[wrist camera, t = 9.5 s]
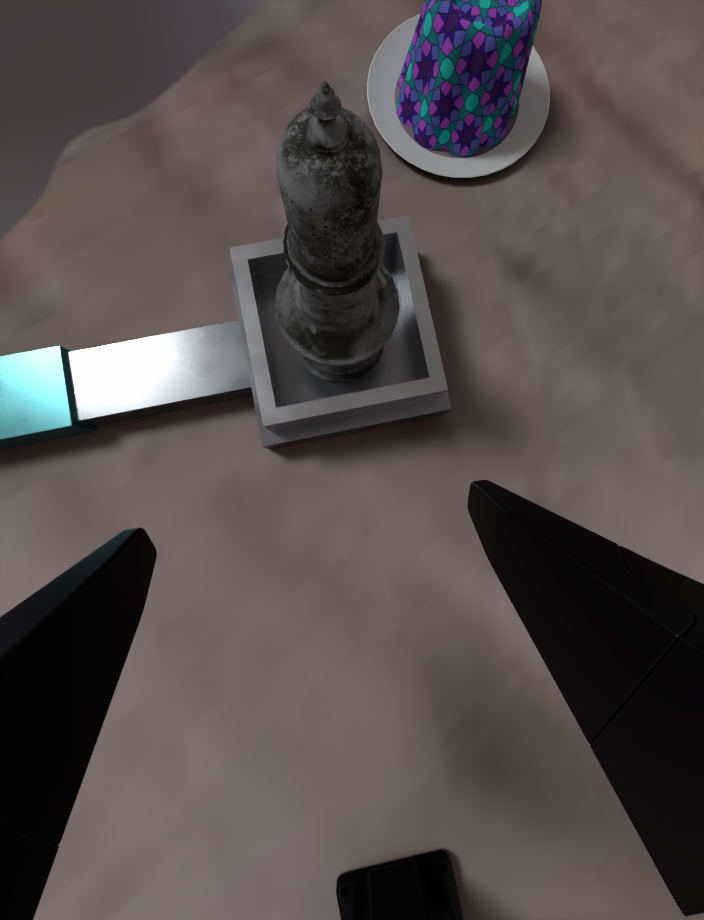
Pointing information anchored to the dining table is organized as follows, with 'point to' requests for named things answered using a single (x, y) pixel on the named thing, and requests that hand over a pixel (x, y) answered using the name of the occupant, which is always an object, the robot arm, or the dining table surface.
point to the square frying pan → (235, 366)
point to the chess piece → (333, 243)
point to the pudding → (461, 85)
